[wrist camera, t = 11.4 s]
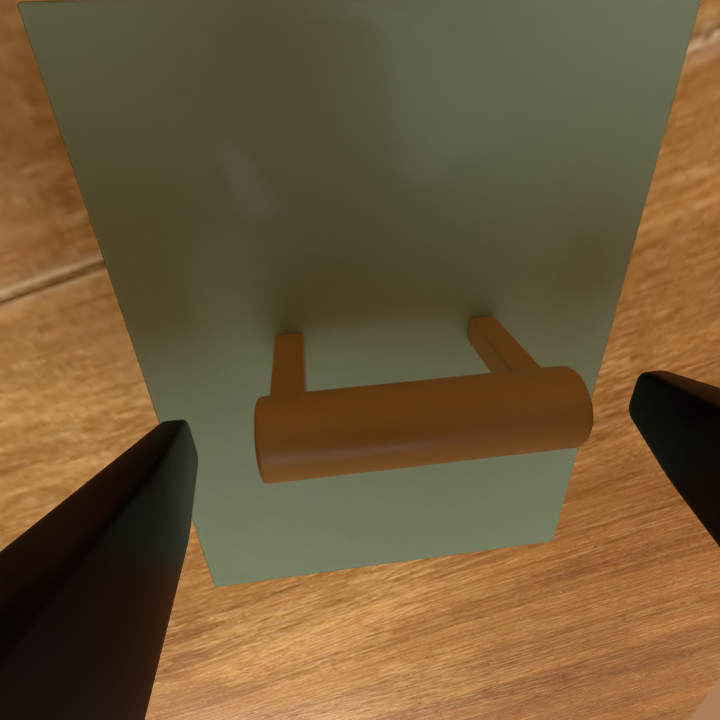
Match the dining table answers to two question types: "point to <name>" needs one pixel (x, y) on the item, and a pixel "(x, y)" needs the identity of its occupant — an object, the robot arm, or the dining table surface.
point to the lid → (366, 249)
